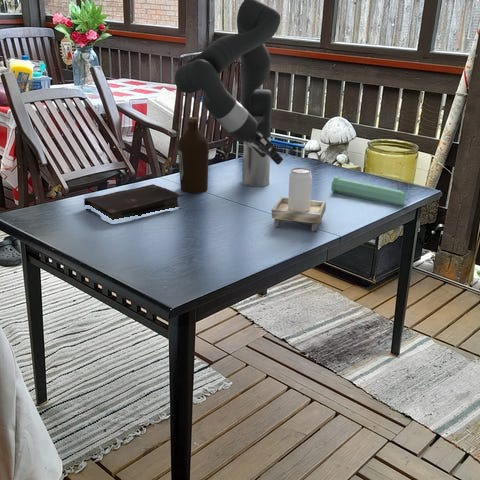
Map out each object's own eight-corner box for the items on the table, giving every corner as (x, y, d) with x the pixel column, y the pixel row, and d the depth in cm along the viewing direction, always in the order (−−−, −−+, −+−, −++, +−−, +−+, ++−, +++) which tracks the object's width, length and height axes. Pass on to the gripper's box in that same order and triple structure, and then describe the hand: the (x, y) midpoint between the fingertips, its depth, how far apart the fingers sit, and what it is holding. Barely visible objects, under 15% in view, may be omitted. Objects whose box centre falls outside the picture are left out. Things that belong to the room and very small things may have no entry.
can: (311, 213, 172) (313, 173, 168) (288, 213, 172) (290, 173, 168) (308, 206, 178) (310, 167, 174) (287, 205, 178) (288, 167, 174)
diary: (84, 212, 187) (83, 196, 185) (152, 196, 201) (152, 182, 199) (113, 228, 173) (111, 211, 171) (183, 210, 188) (183, 195, 186)
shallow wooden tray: (271, 227, 174) (271, 209, 171) (279, 214, 184) (280, 197, 182) (318, 233, 170) (320, 214, 168) (324, 219, 181) (325, 201, 179)
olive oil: (208, 184, 212) (208, 114, 202) (209, 194, 202) (209, 120, 193) (179, 185, 211) (177, 114, 202) (178, 194, 201) (176, 120, 192)
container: (407, 186, 193) (337, 172, 206) (401, 197, 190) (330, 182, 202) (407, 200, 197) (339, 186, 210) (401, 211, 194) (331, 196, 206)
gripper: (258, 113, 150) (294, 153, 159) (233, 105, 162) (268, 142, 171) (239, 136, 150) (276, 175, 159) (215, 126, 161) (252, 162, 171)
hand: (272, 158), depth 165 cm, fingers open, 8 cm apart
